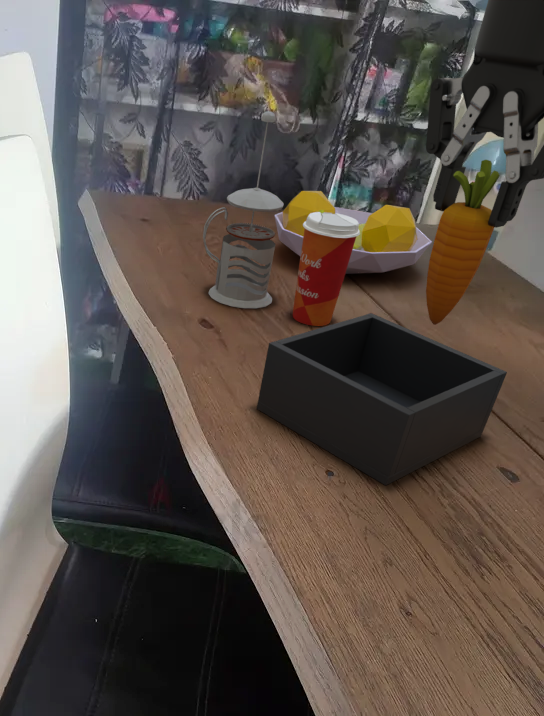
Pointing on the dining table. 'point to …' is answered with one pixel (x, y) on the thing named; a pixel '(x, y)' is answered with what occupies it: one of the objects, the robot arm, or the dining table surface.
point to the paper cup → (323, 265)
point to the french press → (238, 283)
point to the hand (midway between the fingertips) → (469, 216)
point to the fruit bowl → (377, 233)
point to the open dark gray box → (378, 394)
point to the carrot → (459, 244)
